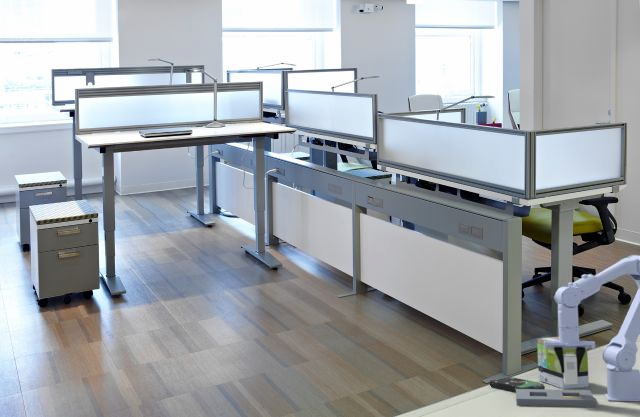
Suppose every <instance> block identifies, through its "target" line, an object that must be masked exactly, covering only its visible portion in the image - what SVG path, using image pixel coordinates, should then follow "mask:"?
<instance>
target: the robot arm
mask: <svg viewBox="0 0 640 417" xmlns="http://www.w3.org/2000/svg"><path fill="white" fill-rule="evenodd" d="M624 275H629V276H630V277H631V278H632V279H633V280H634V282H635V284H636V286H637V288H638V289H637V292H636V294H635V296H634V298H633V300H632V303H631V304H630V307H629V309H628V311H627V314H626V316H625V318H624V320H623V323H622V324H621V326H620V328H619V331H618V332H617V334H616V335H615V336H614V337H613V338H612V339H610V342H609V343H608V344H607V346H605V347H604V348H603V350H602V352H601V357H602V360H603V362H604V363H605V364H606V388H607V390H606V391H607V393H605V394H604V396H605V397H606V399H607V401H609V402H640V369H635V368H634V367H635V365H636V363H637V362H636V361H637V352H638V349H639V348H638V346H637V340H638V337H639V336H640V255H638V254H631V255H629V256H627V257H625V258H622V259H620V260H618V261H617V262H615V263H614V264H612V265H611V266H609V267H607V268H605V269H604V270H602V271H601V272H599V273H597V274H596V275H593V274H591V273H589V274H587V273H586V274H585V273H584V274H582V275H581V276H580V277H581V278H579V279H577V280H575V281H574V282H568V283H567V286H560V287H559V288H557V290H556V291H555V294H554V296H553V299H554V301H555V303H556V305H557V316H558V317H557V318H558V319H557V320H558V337H559V341H544V348H545V349H548V348H554V351H555V353H556V355H557V357H558V360H559V363H560V366H561V372H562V373H564V363H563V349H562V348H576V357H577V373H579V370H580V365H581V362H582V359H583V356H584V354H585V352H586V350H585V348H587V349H591V350H595V349H596V342H595V341H589V340H588V341H587V340H580V331H579V307H578V306H579V305H580V304H581V302H582V301H583V300H585V299H587V298H588V297H590V296H592V295H594V294H596V293H598V292H600V291H601V286H602V285H604V284H607V283H609V282H610V281H613V280H615V279H617V278H620V277H622V276H624Z"/></svg>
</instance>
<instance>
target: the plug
mask: <svg viewBox="0 0 640 417" xmlns="http://www.w3.org/2000/svg"><path fill="white" fill-rule="evenodd" d="M563 363H564V383H565V384H578V380H577V357H576V355H563Z"/></svg>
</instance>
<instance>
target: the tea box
mask: <svg viewBox="0 0 640 417" xmlns="http://www.w3.org/2000/svg"><path fill="white" fill-rule="evenodd" d="M544 341H559V336H553V337H552V336H551V337H550V336H549V337H542V338H536V342H537V343H536V347H537V366H538V367H537V371H538V381H539V382H543V383H546V384H548V385H551V386H554V387H555V388H556V387H557V388H559V389H560V390H573V389H580V388H582V389H583V388H587V387H589V386H590V384H589V379H590V378H589V362H588V360H589V358H588V357H589V356H588V348H585V350H586V352H585V354H584V356H583V359H582V362H581V365H580V370H579V373H577V380H578V384H565V383H564V373H562V372H561V366H560V363H559V360H558V357H557V355H556V353H555V351H554V348H548V349H545V348H544ZM562 349H563V355H576V348H562Z"/></svg>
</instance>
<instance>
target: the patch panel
mask: <svg viewBox="0 0 640 417" xmlns="http://www.w3.org/2000/svg"><path fill="white" fill-rule="evenodd" d="M515 398H516V399H515V400H516V406H519V407H521V406H523V407H524V406H526V407H530V406H531V407H533V406H534V407H563V408H564V407H566V408H567V407H569V408H576V407H577V408H596V399H595V397H594V396H593V393H592V392H591V390H590V389H516V393H515Z"/></svg>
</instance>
